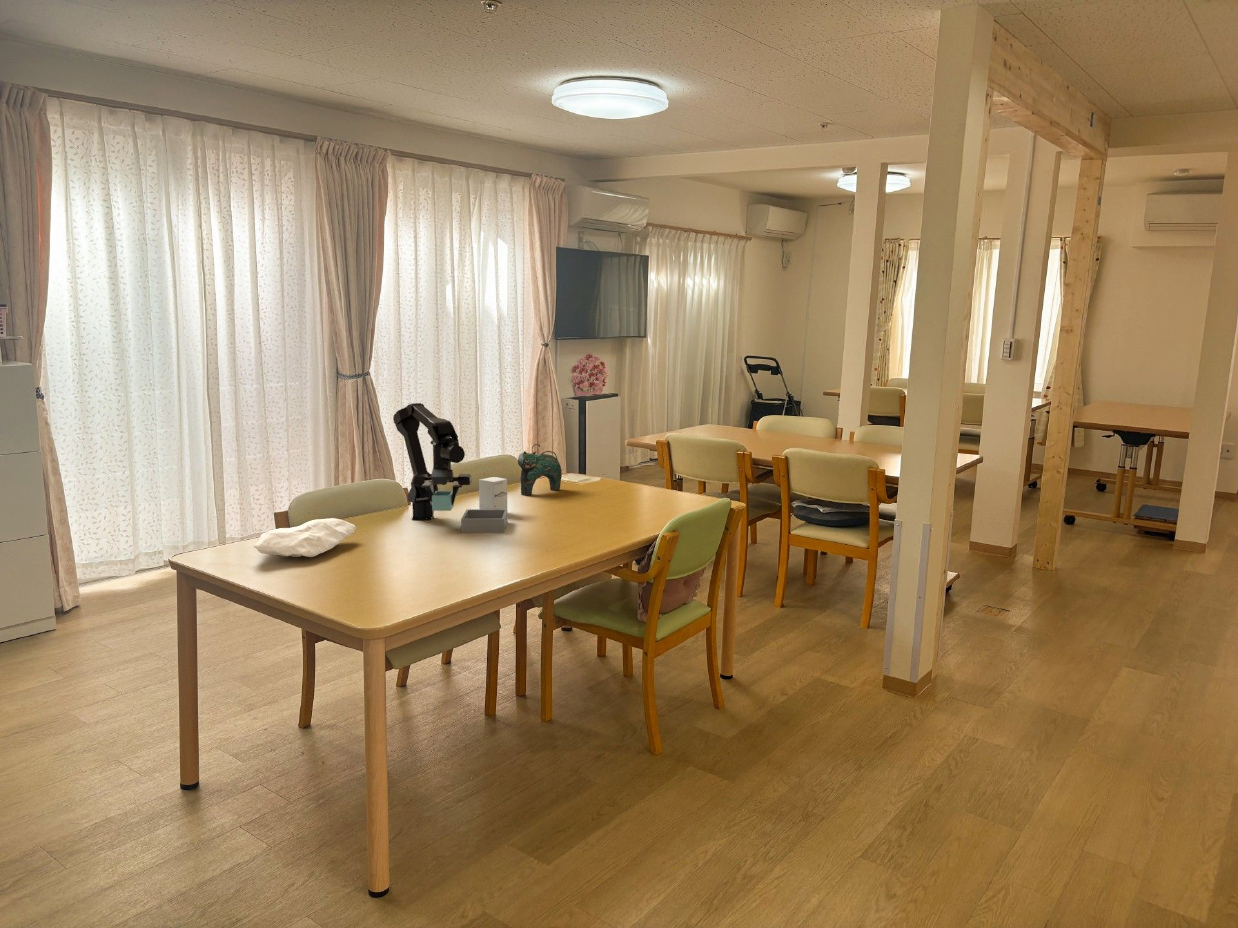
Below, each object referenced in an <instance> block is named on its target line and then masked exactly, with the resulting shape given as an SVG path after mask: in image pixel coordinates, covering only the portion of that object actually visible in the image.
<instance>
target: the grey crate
mask: <svg viewBox="0 0 1238 928" xmlns="http://www.w3.org/2000/svg"><path fill="white" fill-rule="evenodd" d="M508 520H509V519H508V508H507V509H479V508H476V509H471V508H469V509H466V510H465V511H464V513H463V515H462V517H461V519H460V523H461V524H460V528H461V533H505V531H506V529H507V524H508Z"/></svg>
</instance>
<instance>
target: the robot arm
mask: <svg viewBox="0 0 1238 928" xmlns="http://www.w3.org/2000/svg"><path fill="white" fill-rule="evenodd" d="M392 420H393V423H394V425H395V428H396V431H397V432H398V433H400V435H402V436H403V439H404V442H405V443H404V444H405V447H406V451H407V455H408V458H409V463H410V467H411V471H412V475H413V476H412V479H411V481H410V486H411V487H410V489H409V491H408V493H407V496H406V497H407V501H408V502H409V503H411V504H412V517H411V520H412V521H415V520H416V521H417V520H418V521H419V520H420V521H421V520H422V521H423V520H424V521H425V520H428V521H429V520H431V519H432V518H433V517H434V516H435V515H434V514H435V511H432V495H433V494H434V493H435V491H439V488H438V486H439V485H441V486H445V485H447V484H448V483H453V485H452V491H453V493H452V505H453V504H454V505H455V500H456V498H457V495H458V491H459V489H460V488H463V487H464V486H471V483H472V482H473V481H472V479H473V478H472V477H473V476H472V475H471V474H470V473H459V474H458V476H454V470H453V469H452V463H454V464H459V463H461V462H462V461H464V458H465V455H466V454H465V453H466V452H465V451H464V448H463V447H462V446H460V442H459V436H458V433H457V432H456V430H455V427H454V425H453V423H452V422H451V421H450V420H447V419H445V418H440V417H438V416H436V415H435V414H434V413H433V412H432V411H430V410H429V409H428V408H427V407H425V404H423V403H421V402H413V403H409V404H407V405H406V406H405V407H403V408H400V409H399V410H397V411H396V412H395V413H394V415H393V418H392ZM421 425H423V426H424V427H425V428H426V429H427V435H429V437H430V438H431V441H430V445H432V453H433V454H432V459H433V460H432V462H433V465H432V467H433V468H432V471H431V473H430V472H429V471H428V468H427V465H426V460H425V458H424V453H423V450H422V446H421V442H420V441H421V440H420V439H419V434H418V431H419V428H420V426H421Z"/></svg>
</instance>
